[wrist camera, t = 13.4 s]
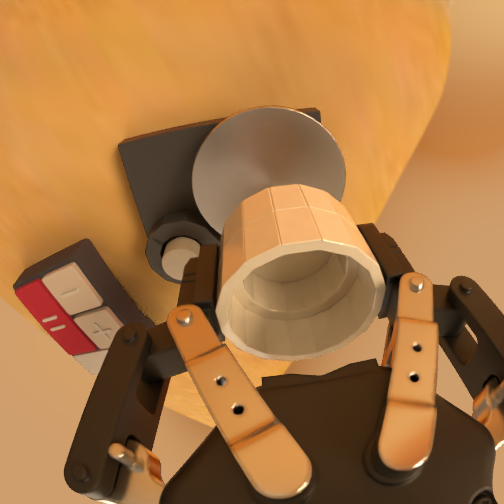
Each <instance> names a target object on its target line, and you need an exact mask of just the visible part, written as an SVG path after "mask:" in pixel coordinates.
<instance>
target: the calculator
mask: <svg viewBox="0 0 504 504" xmlns="http://www.w3.org/2000/svg"><path fill="white" fill-rule="evenodd" d="M13 288H14V290H15V294H16V296H17V297H18V298H19V299H20V301H21V302H22V303H23V304H24V306H25V307H26V308H27V309H28V310H29V312H30V313H31V314H32V315H33V316H34V318H35V319H36V320H37V321H38V322H39V323H40V324H41V325H42V327H43V328H44V329H45V330H46V331H47V332H48V333H49V334H50V335H51V336H52V338H53V339H54V340H55V341H56V342H57V343H58V344H59V345H60V346H61V347H62V348H63V349H64V350H65V351H66V352H67V353H68V354H70V355H72V356H73V357H74V358H75V359H76V360H77V361H78V362H79V363H80V364H81V365H82V366H83V367H84V368H85V369H86V370H87V371H88V372H90V373H91V374H98V373H99V371H100V368H101V366H102V364H103V361H104V359H105V357H106V354H107V352H108V350H109V347H110V345H111V343H112V341H113V338H114V336H115V334H116V332H117V331H118V330H119V329H120V328H121V327H122V326H124V325H126V324H128V323H132V322H139V323H141V324H143V325H144V326H145V327H146V329H148V328H151V327H154V326H156V325H155V324H154V323H153V321H152V320H151V319H150V318H147V317H144V315H143V314H142V313H141V312H140V310H139V309H138V308H137V306H136V305H135V304H134V302H133V301H132V300H131V298H130V297H129V296H128V294H127V293H126V292H125V290H124V289H123V288H122V286H121V285H120V284H119V282H118V281H117V279H116V278H115V277H114V275H113V274H112V272H111V271H110V269H109V268H108V267H107V265H106V264H105V262H104V261H103V259H102V258H101V256H100V255H99V253H98V252H97V250H96V249H95V247H94V246H93V244H92V243H91V241H90V240H88V239H84V240H81V241H79V242H77V243H75V244H73V245H71V246H69V247H67V248H65V249H63V250H61V251H59V252H57V253H55V254H53V255H51V256H50V257H48V258H46V259H44V260H42V261H40V262H38V263H36V264H34V265H32V266H31V267H29V268H27V269H25V270H24V272H23V273H22V274H21V275H20V277H19V278H18V279H17V281H16V282H15V283H14V285H13Z"/></svg>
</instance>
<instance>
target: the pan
mask: <svg viewBox="0 0 504 504" xmlns="http://www.w3.org/2000/svg"><path fill="white" fill-rule="evenodd" d="M345 180H346V170H345V163H344V158H343V155H342V152H341V150H340V147H339V145H338V144H337V142H336V140H335V139H334V137H333V136H332V135H331V133H330V132H329V131H328V130H327V129H326V128H325V127H324V126H323V125H322V124H321V123H319V122H318V121H317V120H315V119H314V118H313V117H311V116H309V115H307V114H305V113H303V112H301V111H298V110H295V109H292V108H288V107H283V106H273V105H270V106H258V107H253V108H248V109H245V110H242V111H239V112H237V113H235V114H233V115H231V116H229V117H228V118H226V119H225V120H223V121H222V122H220V123H219V124H218V125H217V126H216V127H215V128H214V129H213V130H212V131H211V132H210V133H209V134H208V136H207V137H206V138H205V140H204V141H203V143H202V144H201V146H200V148H199V150H198V153H197V155H196V158H195V161H194V165H193V170H192V190H193V195H194V198H195V202H196V204H197V206H198V209H199V211H200V212H201V214H202V215H203V217H204V218H205V220H206V221H207V222H208V223H209V224H210V225H211V227H213V228H214V229H215V230H216V231H217V232H218V233H220V234H221V235H222V232H223V228H224V224H225V222H226V220H227V219H228V218H229V216H230V215H231V214H232V213H233V212H234V210H235V209H236V208H237V207H238V206H239V204H240V203H241V202H243V200H245V199H247V198H249V197H251V196H253V195H254V194H256V193H258V192H260V191H262V190H264V189H266V188H270V187H275V186H284V185H292V184H298V185H299V184H301V185H305V186H309V187H313V188H316V189H320V190H324V191H325V192H328V193H329V194H330V195H331V196H332V197H334V198H335V199H336V200H337V201H338V202H340V201H341V198H342V196H343V192H344V188H345Z"/></svg>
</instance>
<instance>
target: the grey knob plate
mask: <svg viewBox="0 0 504 504" xmlns="http://www.w3.org/2000/svg"><path fill="white" fill-rule="evenodd" d="M295 110H298V111H301V112H303V113H305V114H307V115H309V116H311V117H313V118H314V119H315V120H317V121H318V122H319V123H321V117H320V111H319V110H317V109H316V108H305V109H295ZM227 118H228V117H227ZM225 119H226V118H221V119H215V120H209V121H204V122H198V123H193V124H188V125H183V126H178V127H174V128H169V129H165V130H160V131H156V132H152V133H148V134H143V135H140V136H136V137H132V138H128V139H124V140H123V141H122V142H121V143H120V144H118V147H119V151H120V154H121V158H122V161H123V164H124V168H125V171H126V174H127V178H128V181H129V184H130V187H131V190H132V193H133V196H134V199H135V202H136V205H137V208H138V211H139V214H140V217H141V220H142V223H143V226H144V228H145V231H146V234H147V237H148V241H147V246H146V250H145V253H146V256H147V258H148V261H149V263H150V266H151V268H152V269H153V270H154V271H155V272H157V273H158V274H159V275H160V276H161V277H163V278H164V279H165V280H167V281H171V282H174V283H178V284H181V283H182V280H177V279H174V278H172V277H170V276H169V275H168V274H167V273H166V272H165V271H164V269H163V266H162V258H163V255H164V251H165V248H166V245H167V244H168V243H169V242H170V241H171V240H172V239H174V238H177V237H188V238H191V239H193V240H195V241H197V242H198V243H199V244H200V246H201V245H205V244H212V243H218V245H219V244H220V240H221V236H222V235H221V234H220V233H218V232H217V231H216V230H215V229H214V228H213V227H211V225H210V224H209V223H208V222H207V221H206V220H205V218H204V217H203V215H202V214H201V212H200V211H199V209H198V206H197V204H196V202H195V198H194V195H193V190H192V170H193V165H194V161H195V158H196V155H197V153H198V150H199V148H200V146H201V144H202V143H203V141H204V140H205V138H206V137H207V136H208V134H209V133H210V132H211V131H212V130H213V129H214V128H215V127H216V126H217V125H218V124H219V123H220V122H222V121H223V120H225Z"/></svg>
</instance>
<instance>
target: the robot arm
mask: <svg viewBox="0 0 504 504" xmlns="http://www.w3.org/2000/svg"><path fill="white" fill-rule="evenodd" d="M356 226H357V228H358V230H359V231H360V233H361V234H362V236H363V238H364V239H365V241H366V243H367V245H368V246H369V248H370V250H371V252H372V253H373V255H374V257H375V259H376V260H377V262H378V264H379V266H380V269H381V272H382V275H383V278H384V281H385V285H386V290H385V295H384V299H383V304H382V308H381V311H380V312H379V314H378V317H379V319H381V318H385V317H388V319H389V324H388V329H387V336H386V343H385V349H384V354H383V360H382V364H381V366H378V363H377V360H376V359H370V360H366V361H361V362H356V363H351V364H348V365H346V366H344V367H341V368H339V369H337V370H334V371H332V372H330V373H327V374H325V375H321V376H316V375H301V374H285V375H277V376H269V377H262V386H259V387H256V388H255V387H254V386H253V384H252V383H251V381H250V380H249V378H248V377H247V375H246V374H245V372H244V371H243V369H242V368H241V366H240V365H239V363H238V362H237V360H236V359H235V357H234V356H233V354H232V353H231V351H230V350H229V348H228V347H227V345H226V344H222V342H223V341H225V336H224V335H223V333H222V332H221V328H220V325H219V322H218V319H217V316H216V313H215V304H216V287H217V273H218V257H219V245H218V243H212V244H205V245H201V246H200V252H199V257H194V258H190V259H189V261H188V262H187V263H186V265H185V266H184V271H183V276H182V283H181V287H180V293H179V298H178V304H177V307H176V308H175V309H173V310H172V311H171V312H170V314H169V315H168V317H167V321H166V322H164V323H162V324H160V325H157V326H154V327H151V328H148V329H146V327H145V326H144V325H143V324H141V323H139V322H132V323H128V324H126V325H124V326H122V327H121V328H120V329H119V330H118V331H117V332H116V334H115V336H114V338H113V341H112V343H111V345H110V347H109V350H108V352H107V354H106V357H105V359H104V361H103V364H102V366H101V368H100V371H99V373H98V376H97V378H96V381H95V383H94V386H93V388H92V391H91V393H90V396H89V398H88V401H87V404H86V406H85V409H84V411H83V414H82V417H81V420H80V422H79V426H78V428H77V431H76V434H75V437H74V440H73V443H72V446H71V448H70V452H69V455H68V458H67V461H66V464H65V468H64V478H65V481H66V483H67V485H68V486H69V487H70V488H71V489H72V490H73V491H75V492H77V493H80V494H82V495H85V496H87V497H89V498H90V499H93V500H95V501H98V502H101V503H104V504H498V503H497V502H496V500H495V498H494V495H493V488H492V479H493V468H494V462H495V454H496V452H495V451H496V449H497V448H499V447H500V446H501V445H502V444H503V443H504V315H503V314H502V312H501V311H500V310H499V309H498V307H497V306H496V305H495V304H494V303H493V301H492V300H491V299H490V298H489V297H488V296H487V294H486V293H485V292H484V291H483V290H482V289H481V288H480V287H479V285H478V284H477V283H476V282H475V281H473V280H472V279H471V278H468V277H465V276H457V277H455V278H453V279H452V281H451V283H450V286H445V285H434V284H432V282H431V280H430V279H429V278H428V277H426V276H425V275H423V274H420V273H417V272H415V271H414V269H413V268H412V266H411V264H410V263H409V261H408V260H407V258H406V257H405V255H404V254H403V253H402V251H401V249H400V248H399V247H398V245H397V244H396V242H395V241H394V239H393V238H391V237H390V236H388V235H387V234H386V233H379V231H378V230H377V228H376V227H375V225H374V224H373V223H368V224H360V225H356ZM466 323H467V324H468V326H469V327H470V328H471V330H472V331H473V333H474V334H475V335H476V337H477V340H478V344H477V343H476V342H475V340H474V339H473V337H472V336H471V335H470V333H469V332H468V330H467V329H466V327H465V325H466ZM438 344H439V345H440V346H441V348H442V349H443V351H444V352H445V354H446V355H447V357H448V358H449V360H450V362H451V363H452V365H453V366H454V368H455V369H456V371H457V373H458V374H459V376H460V378H461V379H462V381H463V383H464V384H465V386H466V387H467V389H468V391H469V393H470V395H471V396H472V398H473V400H474V401H473V414H472V417H471V416H470V415H468V414H466V413H465V412H463V411H462V410H460V409H459V408H457V407H455V406H454V405H453V404H451V403H450V402H448V401H447V400H445V399H444V398H442V397H441V396H439V395H438V394H436V385H437V370H438ZM186 371H188V372H189V374H190V376H191V378H192V380H193V382H194V384H195V386H196V388H197V390H198V392H199V394H200V396H201V397H202V399H203V401H204V403H205V405H206V407H207V409H208V411H209V412H210V414H211V416H212V418H213V420H214V422H215V423H216V426H215V427H214V429H213V430H212V431H211V432H210V434H209V435H208V436H207V437H206V439H205V440H204V441H203V442H202V443H201V444H200V446H199V447H198V448H197V449H196V450H195V452H194V453H193V454H192V455H191V456H190V458H189V459H188V460H187V461H186V463H184V465H183V466H182V467H181V468H180V469H179V470H178V471H177V473H176V474H175V475H174V476H173V477H172V478H171V479H170V480H169V482H168V483H167V484H166V485H165V483H164V482H163V480H162V477H161V463H160V460H159V458H158V457H157V456H156V455H155V454H154V453H152V448H153V444H154V440H155V436H156V432H157V428H158V424H159V420H160V416H161V412H162V409H163V405H164V401H165V397H166V393H167V390H168V386H169V382H170V379H171V377H172V376H175V375H178V374H180V373H183V372H186Z"/></svg>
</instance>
